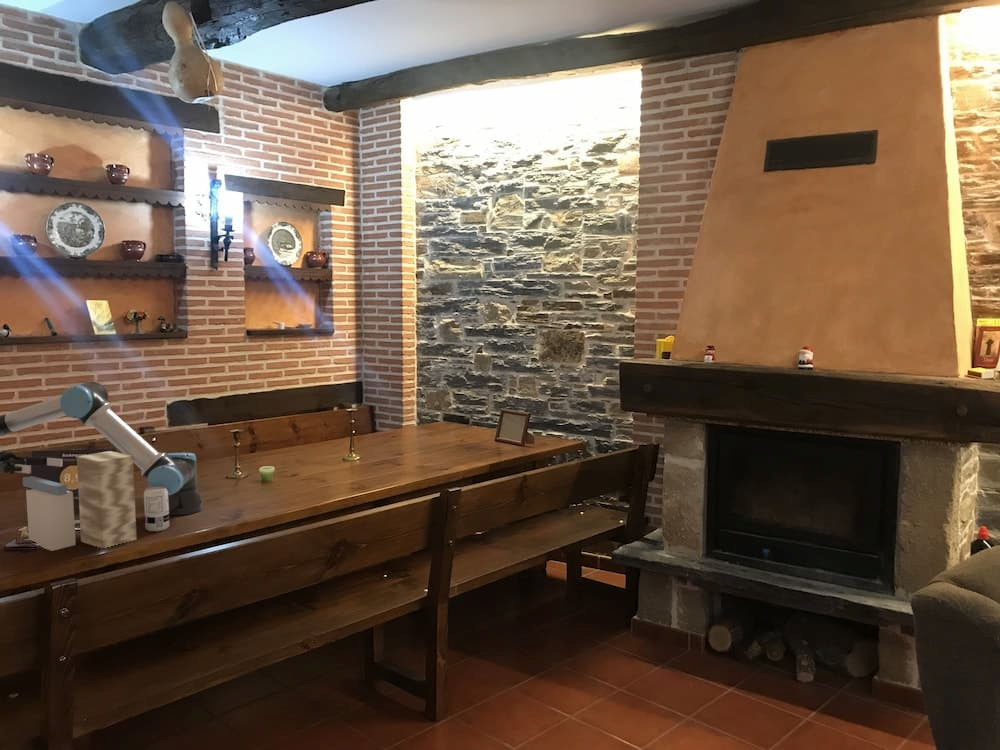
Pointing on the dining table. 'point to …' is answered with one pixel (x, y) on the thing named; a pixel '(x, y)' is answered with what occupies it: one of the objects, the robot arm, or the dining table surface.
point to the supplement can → (156, 508)
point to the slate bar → (45, 485)
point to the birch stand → (106, 498)
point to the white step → (51, 519)
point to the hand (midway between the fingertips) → (46, 466)
